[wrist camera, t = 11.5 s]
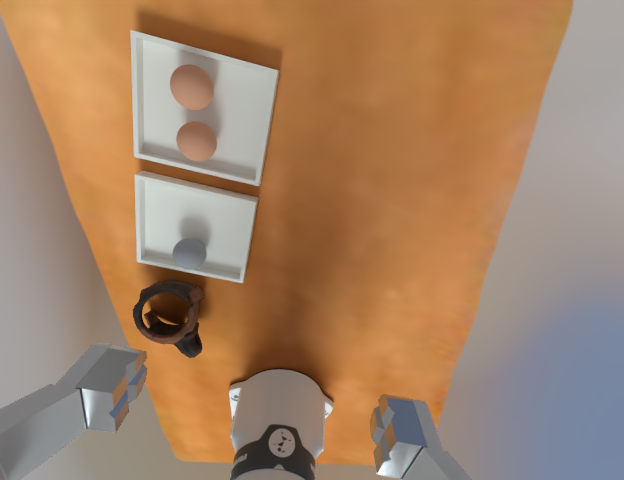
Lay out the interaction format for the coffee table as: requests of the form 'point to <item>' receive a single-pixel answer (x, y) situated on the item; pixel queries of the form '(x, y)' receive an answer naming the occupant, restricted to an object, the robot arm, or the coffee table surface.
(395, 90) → the coffee table surface
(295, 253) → the coffee table surface
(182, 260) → the ball grey
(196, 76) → the terracotta ball
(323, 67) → the coffee table surface
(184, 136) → the terracotta ball
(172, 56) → the dish
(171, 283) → the pottery mug
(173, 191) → the dish
